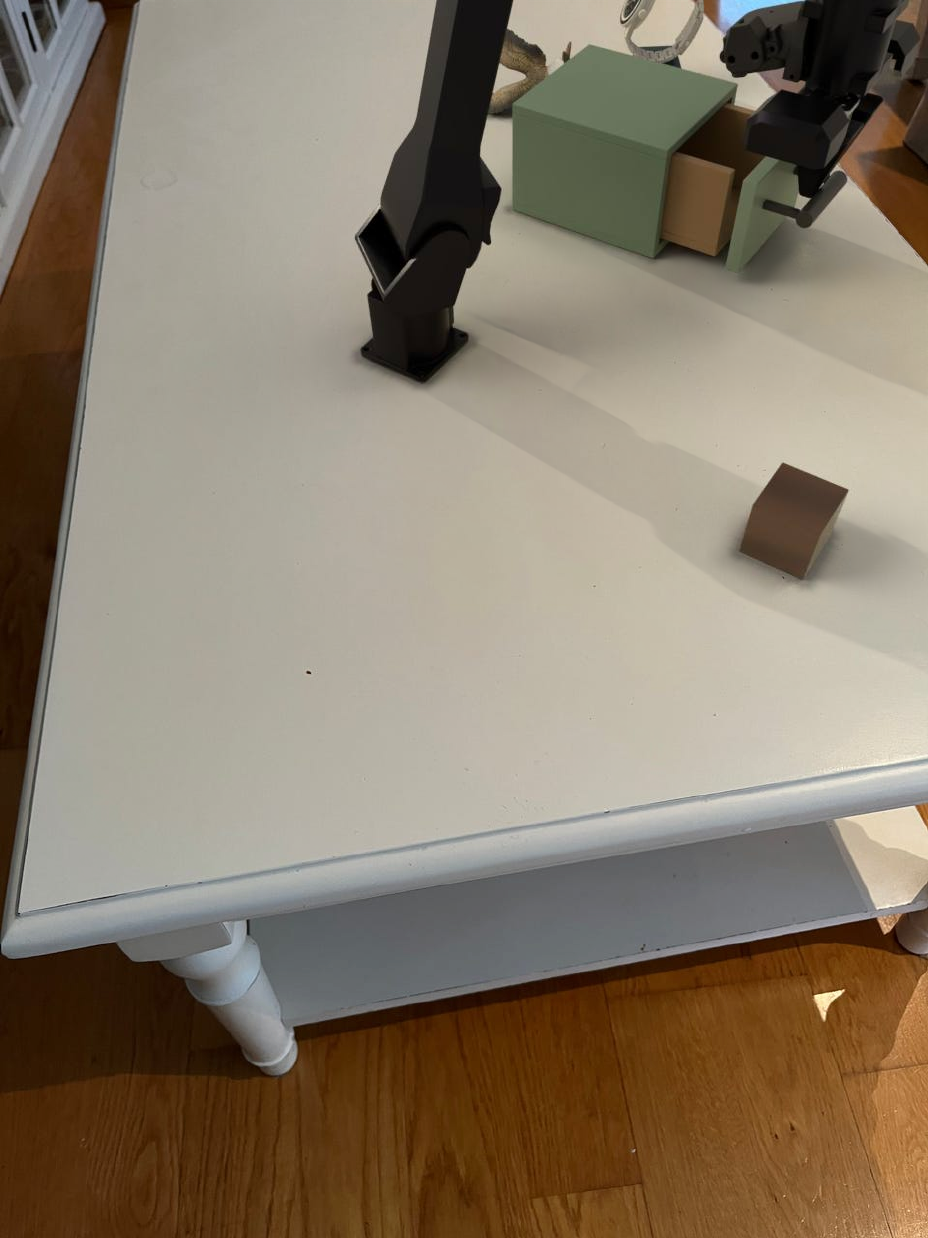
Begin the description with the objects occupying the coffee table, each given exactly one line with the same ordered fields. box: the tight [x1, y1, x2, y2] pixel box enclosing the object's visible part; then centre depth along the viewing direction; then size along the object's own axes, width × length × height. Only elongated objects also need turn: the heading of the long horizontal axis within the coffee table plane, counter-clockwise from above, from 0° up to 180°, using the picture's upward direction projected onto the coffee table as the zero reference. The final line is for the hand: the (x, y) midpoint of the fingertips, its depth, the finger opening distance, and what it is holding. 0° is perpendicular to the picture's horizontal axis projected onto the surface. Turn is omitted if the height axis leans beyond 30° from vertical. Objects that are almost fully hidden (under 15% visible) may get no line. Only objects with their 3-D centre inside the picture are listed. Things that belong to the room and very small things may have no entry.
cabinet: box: [511, 43, 739, 259], centre depth 85 cm, size 15×13×10 cm
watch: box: [619, 0, 705, 69], centre depth 97 cm, size 6×8×11 cm
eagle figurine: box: [488, 28, 572, 114], centre depth 98 cm, size 8×7×9 cm
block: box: [738, 462, 850, 580], centre depth 63 cm, size 4×4×4 cm
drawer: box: [660, 103, 848, 274], centre depth 82 cm, size 18×11×8 cm, turn 55°
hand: (806, 194), depth 78 cm, fingers closed, pressing on drawer
